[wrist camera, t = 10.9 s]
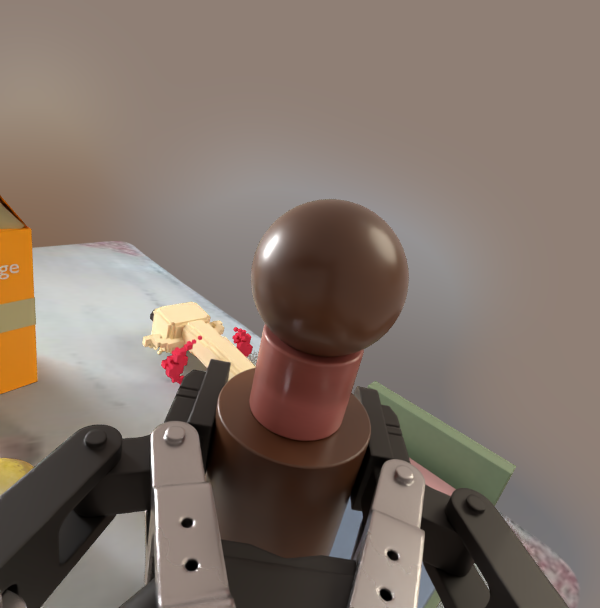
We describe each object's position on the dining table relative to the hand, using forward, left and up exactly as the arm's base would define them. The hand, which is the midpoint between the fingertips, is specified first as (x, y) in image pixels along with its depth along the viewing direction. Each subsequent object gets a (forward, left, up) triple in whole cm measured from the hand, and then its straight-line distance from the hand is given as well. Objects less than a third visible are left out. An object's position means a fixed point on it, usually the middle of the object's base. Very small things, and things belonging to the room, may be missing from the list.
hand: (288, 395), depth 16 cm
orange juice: (-33, -1, -19) cm, 38 cm away
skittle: (+2, -2, -8) cm, 9 cm away
